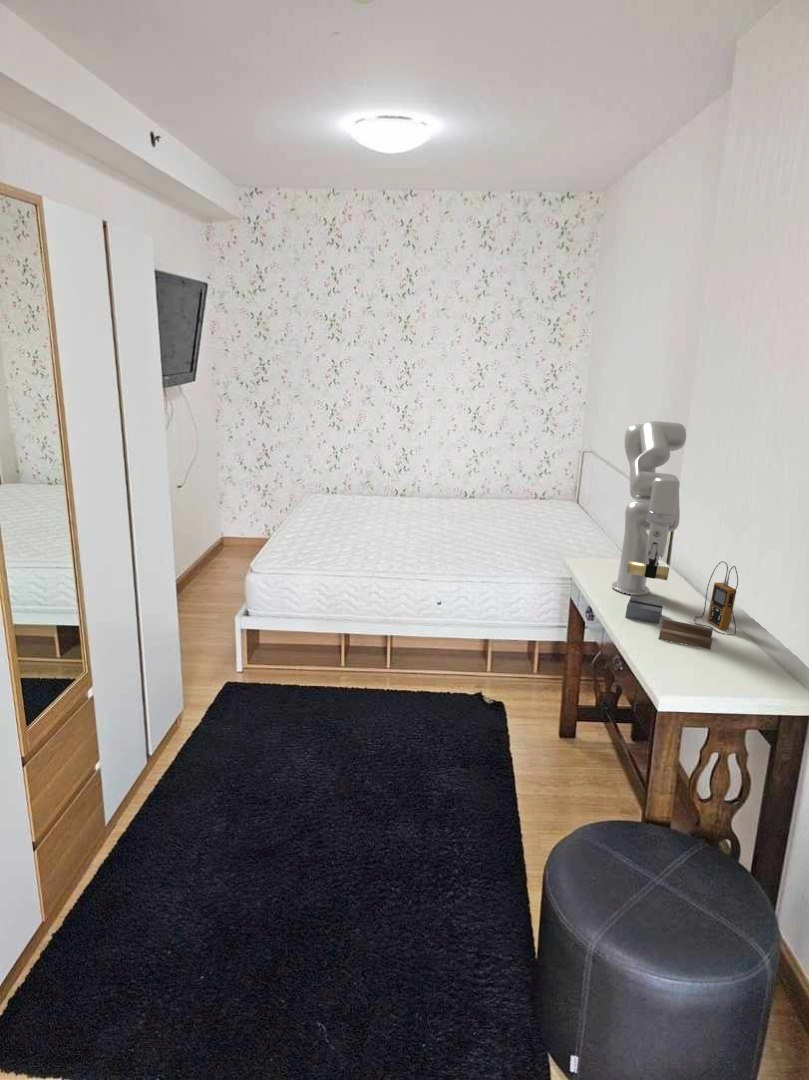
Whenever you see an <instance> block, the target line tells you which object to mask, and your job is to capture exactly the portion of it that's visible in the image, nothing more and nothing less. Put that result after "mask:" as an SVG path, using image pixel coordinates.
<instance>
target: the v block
mask: <svg viewBox="0 0 809 1080" xmlns="http://www.w3.org/2000/svg"><path fill="white" fill-rule="evenodd" d="M663 608H664V602H663V601H662V602H661V601H656V600H653V599H652V600H651V599H647V598H642V597H635V596H633V595H630V598H629V600H628V603H627V605H626V611H625V619H631V620H636V621H641V622H645V623H651V624H657V625H659V624H660V622H661V617H662V614H663Z"/></svg>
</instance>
